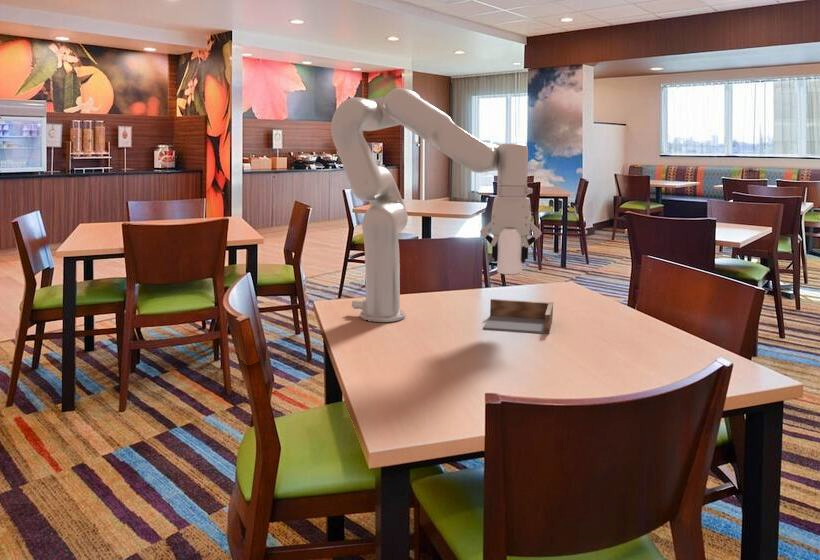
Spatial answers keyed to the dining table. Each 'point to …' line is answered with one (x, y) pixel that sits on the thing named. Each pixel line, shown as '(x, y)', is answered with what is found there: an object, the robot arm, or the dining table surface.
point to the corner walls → (523, 310)
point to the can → (509, 252)
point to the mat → (515, 324)
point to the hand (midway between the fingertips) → (509, 260)
